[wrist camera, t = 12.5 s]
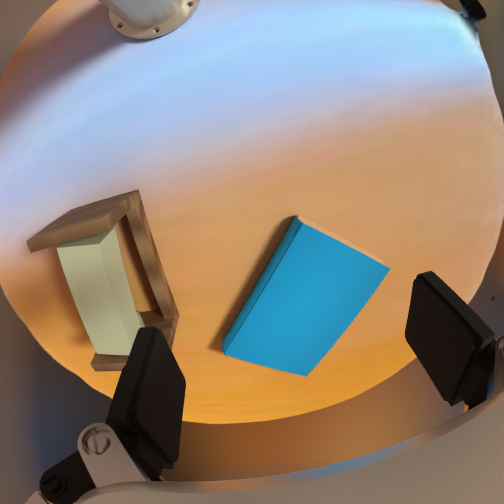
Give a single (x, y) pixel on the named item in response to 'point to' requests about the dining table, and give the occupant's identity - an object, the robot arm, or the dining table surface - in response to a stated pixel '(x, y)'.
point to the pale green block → (101, 291)
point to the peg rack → (105, 217)
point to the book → (304, 300)
